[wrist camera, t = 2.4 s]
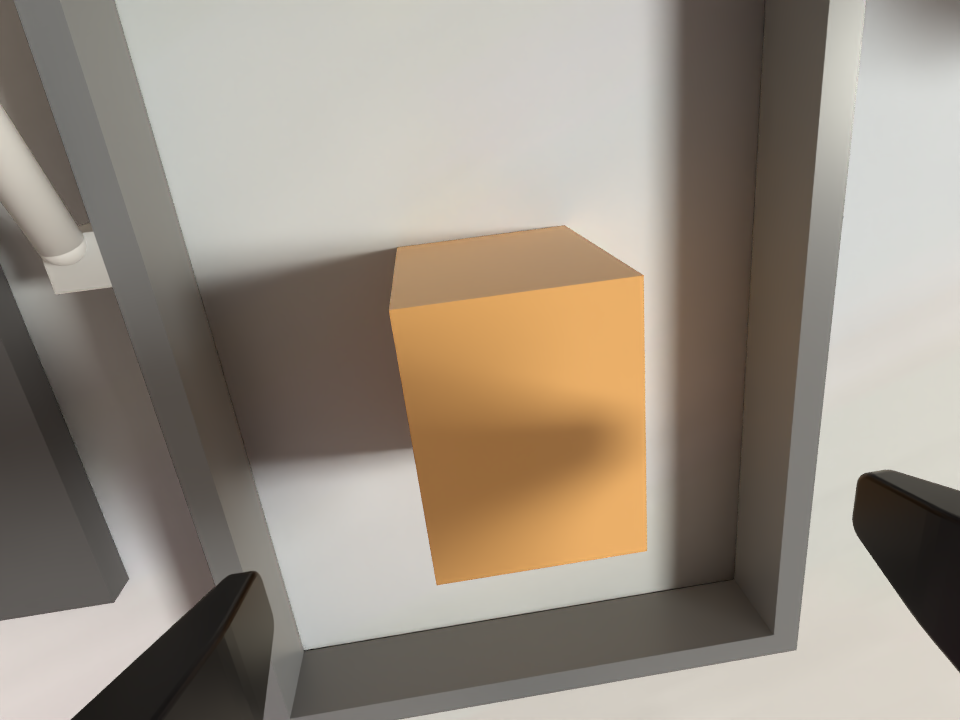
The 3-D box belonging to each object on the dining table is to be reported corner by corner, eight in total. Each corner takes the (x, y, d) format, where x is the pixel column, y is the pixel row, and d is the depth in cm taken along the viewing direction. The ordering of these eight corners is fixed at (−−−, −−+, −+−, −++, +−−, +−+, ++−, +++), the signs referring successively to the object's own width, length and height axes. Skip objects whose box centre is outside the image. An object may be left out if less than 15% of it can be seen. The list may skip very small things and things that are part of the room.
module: (575, 423, 18) (647, 550, 13) (429, 444, 18) (436, 585, 13) (564, 225, 16) (643, 274, 11) (397, 246, 16) (388, 310, 10)
